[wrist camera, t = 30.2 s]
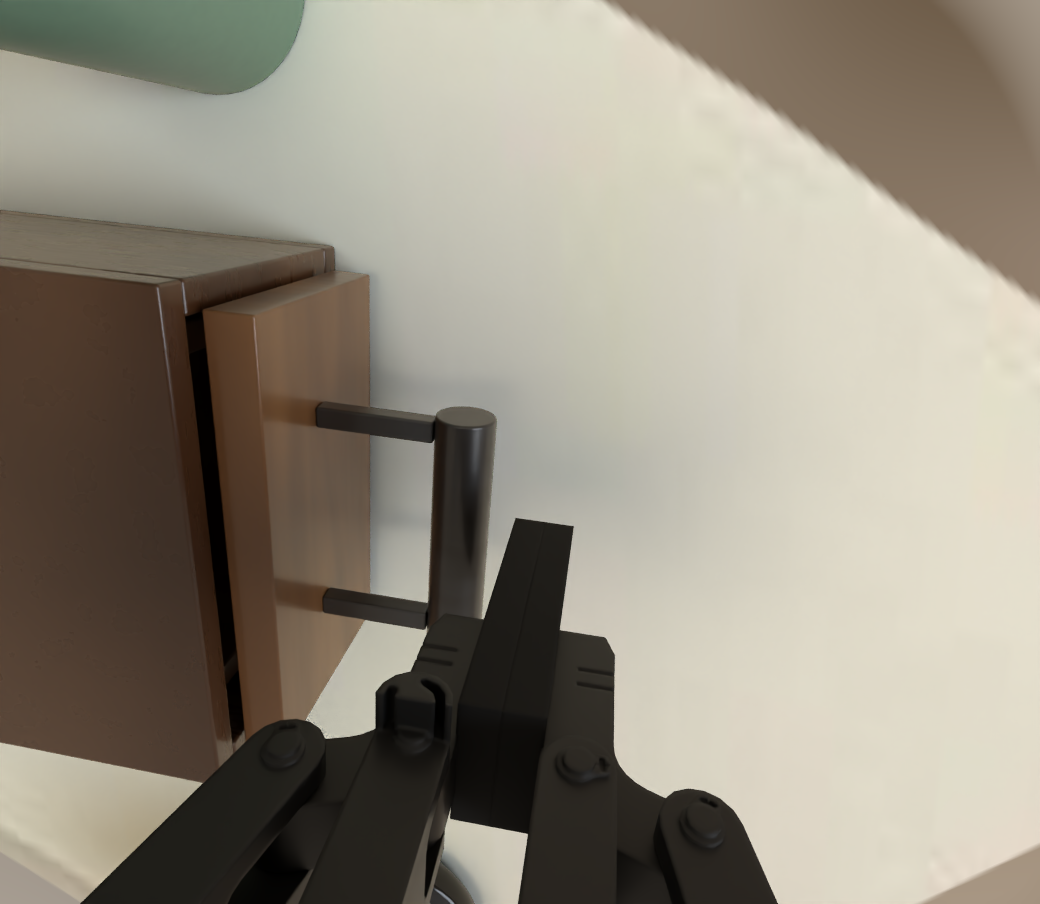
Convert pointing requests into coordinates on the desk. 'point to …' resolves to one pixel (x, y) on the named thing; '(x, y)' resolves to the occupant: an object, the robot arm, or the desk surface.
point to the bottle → (158, 38)
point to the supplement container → (449, 889)
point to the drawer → (316, 488)
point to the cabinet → (114, 489)
